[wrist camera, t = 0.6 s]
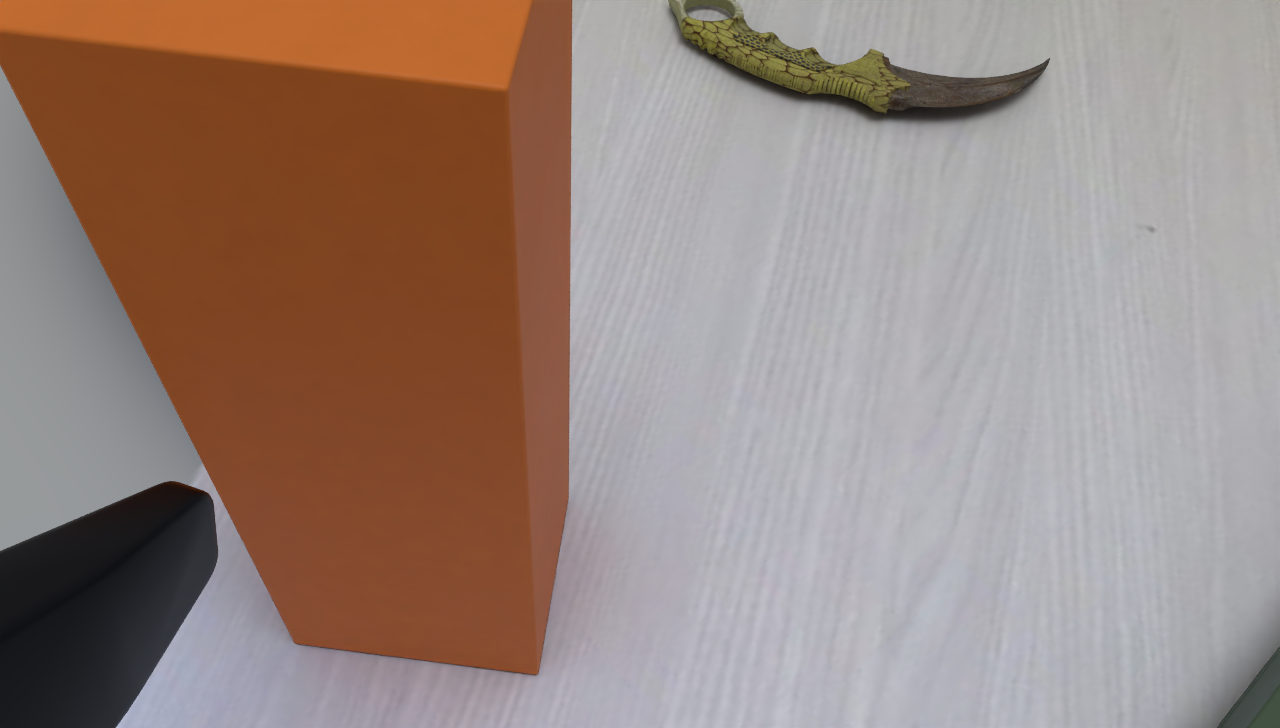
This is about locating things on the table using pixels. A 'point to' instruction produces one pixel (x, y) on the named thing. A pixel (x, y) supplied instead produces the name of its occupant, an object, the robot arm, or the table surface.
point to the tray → (1258, 700)
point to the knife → (838, 67)
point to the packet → (341, 285)
